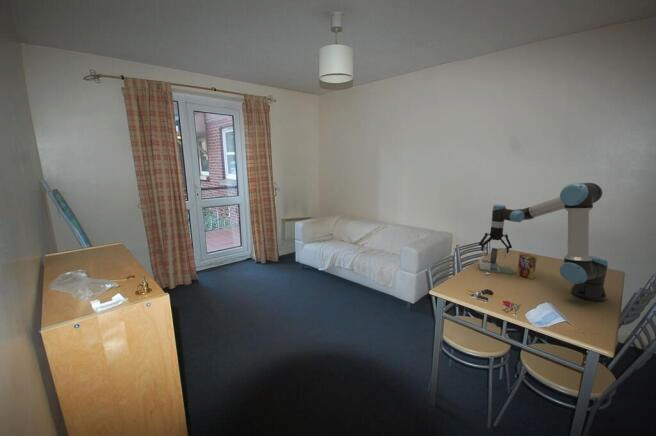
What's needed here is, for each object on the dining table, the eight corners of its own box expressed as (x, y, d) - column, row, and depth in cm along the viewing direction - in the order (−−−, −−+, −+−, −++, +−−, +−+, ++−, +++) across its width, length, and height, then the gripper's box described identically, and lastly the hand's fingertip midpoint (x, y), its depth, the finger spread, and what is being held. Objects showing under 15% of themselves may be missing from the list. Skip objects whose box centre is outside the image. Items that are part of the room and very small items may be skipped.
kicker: (497, 269, 204) (499, 250, 201) (489, 268, 206) (491, 249, 203) (495, 266, 210) (497, 247, 207) (487, 265, 211) (489, 247, 209)
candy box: (534, 278, 192) (537, 255, 190) (532, 279, 190) (535, 257, 187) (518, 274, 199) (521, 252, 196) (516, 275, 197) (519, 253, 194)
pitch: (512, 274, 198) (513, 267, 197) (480, 270, 205) (480, 263, 204) (508, 268, 210) (509, 261, 209) (477, 264, 217) (478, 257, 216)
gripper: (516, 227, 201) (513, 256, 205) (476, 224, 210) (473, 252, 214) (519, 229, 194) (515, 259, 198) (477, 226, 203) (474, 255, 207)
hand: (493, 256), depth 206 cm, fingers open, 13 cm apart
